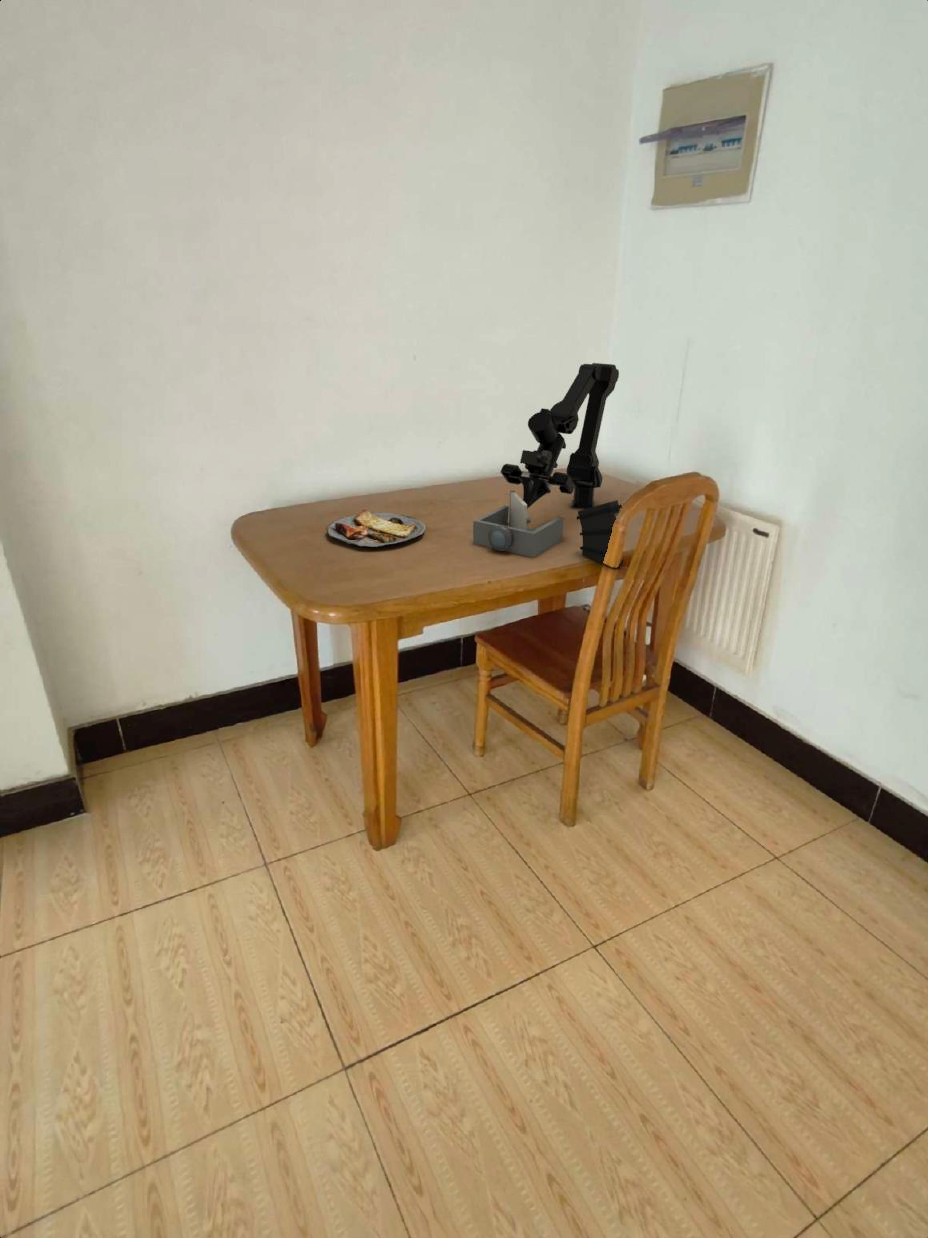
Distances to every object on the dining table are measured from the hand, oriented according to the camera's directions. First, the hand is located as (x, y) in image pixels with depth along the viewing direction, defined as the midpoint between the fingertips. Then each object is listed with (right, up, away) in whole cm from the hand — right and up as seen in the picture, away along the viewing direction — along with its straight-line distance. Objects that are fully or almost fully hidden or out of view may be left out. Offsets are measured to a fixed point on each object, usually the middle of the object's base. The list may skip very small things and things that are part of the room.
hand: (524, 508), depth 180 cm
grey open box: (-2, -8, +2) cm, 9 cm away
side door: (-1, -5, +6) cm, 8 cm away
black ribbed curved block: (+17, -14, -8) cm, 23 cm away
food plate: (-38, -6, +8) cm, 39 cm away
